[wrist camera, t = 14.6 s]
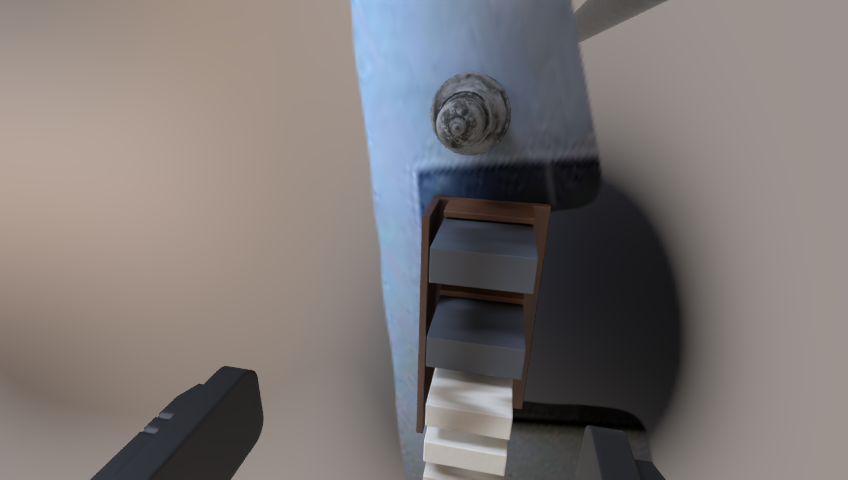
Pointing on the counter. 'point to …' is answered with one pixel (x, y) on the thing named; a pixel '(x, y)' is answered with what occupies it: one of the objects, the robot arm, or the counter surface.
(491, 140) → the stone chess piece
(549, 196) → the counter surface
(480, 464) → the white book
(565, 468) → the counter surface
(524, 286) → the book rack
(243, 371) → the robot arm
